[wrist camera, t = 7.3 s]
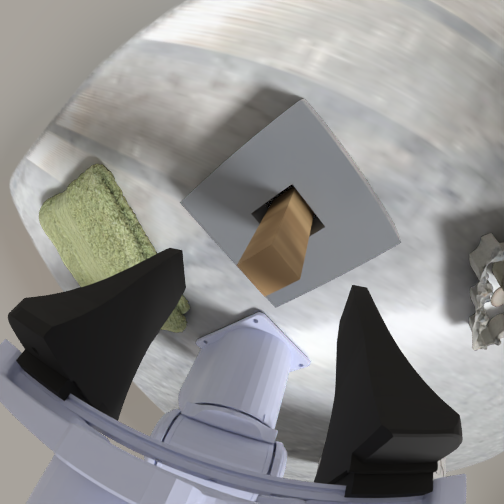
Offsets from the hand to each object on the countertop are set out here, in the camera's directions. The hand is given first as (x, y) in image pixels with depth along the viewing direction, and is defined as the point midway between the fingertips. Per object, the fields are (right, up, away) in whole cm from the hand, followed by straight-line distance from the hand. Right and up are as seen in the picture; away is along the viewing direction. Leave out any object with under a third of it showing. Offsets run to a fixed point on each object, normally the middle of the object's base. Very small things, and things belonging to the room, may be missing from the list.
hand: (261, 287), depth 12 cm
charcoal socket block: (+2, +5, +7) cm, 9 cm away
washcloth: (-14, +1, +16) cm, 21 cm away
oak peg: (+2, +5, +7) cm, 9 cm away
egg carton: (+20, -1, +5) cm, 21 cm away
